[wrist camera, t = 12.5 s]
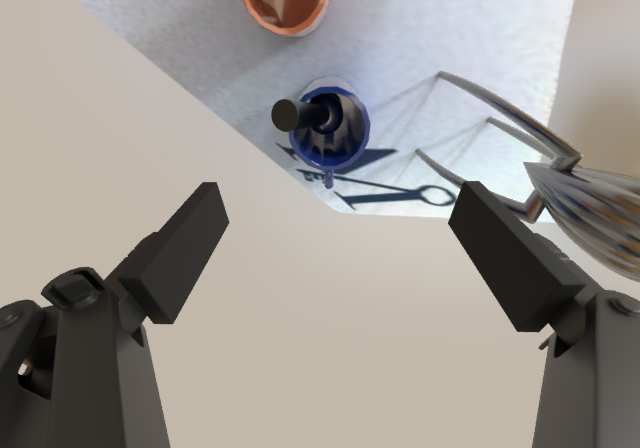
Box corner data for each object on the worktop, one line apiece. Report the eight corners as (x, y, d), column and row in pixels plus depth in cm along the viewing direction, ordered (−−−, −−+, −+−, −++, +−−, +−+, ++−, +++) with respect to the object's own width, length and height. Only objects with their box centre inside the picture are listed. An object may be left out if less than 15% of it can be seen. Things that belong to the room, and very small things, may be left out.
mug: (295, 77, 33) (284, 87, 25) (363, 75, 32) (374, 85, 24) (301, 165, 40) (294, 195, 32) (356, 165, 40) (363, 195, 32)
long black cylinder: (311, 95, 34) (253, 81, 19) (346, 94, 33) (314, 79, 18) (312, 132, 36) (259, 147, 21) (345, 133, 35) (314, 149, 20)
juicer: (414, 153, 38) (557, 333, 14) (438, 70, 32) (778, 150, 8) (475, 156, 38) (719, 341, 14) (512, 75, 32) (1077, 167, 8)
